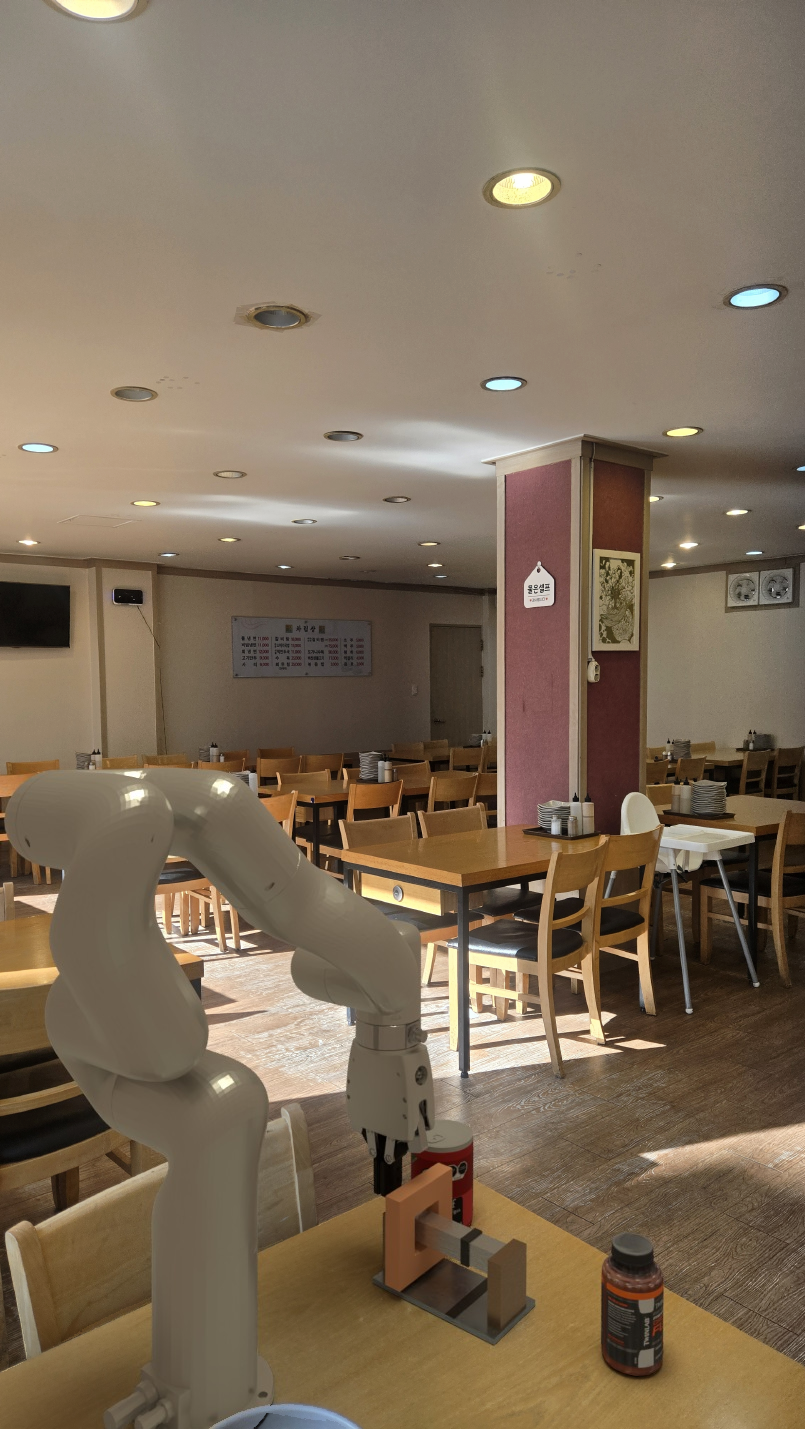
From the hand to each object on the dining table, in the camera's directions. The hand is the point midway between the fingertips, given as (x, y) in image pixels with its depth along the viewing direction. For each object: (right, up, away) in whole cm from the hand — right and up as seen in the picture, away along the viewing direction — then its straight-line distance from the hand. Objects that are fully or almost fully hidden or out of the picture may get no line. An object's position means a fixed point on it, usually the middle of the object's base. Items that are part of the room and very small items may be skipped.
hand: (387, 1190), depth 107 cm
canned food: (+7, -9, +9) cm, 14 cm away
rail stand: (+7, -8, -6) cm, 12 cm away
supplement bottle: (+24, -9, -16) cm, 30 cm away
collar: (+4, -7, -3) cm, 8 cm away
